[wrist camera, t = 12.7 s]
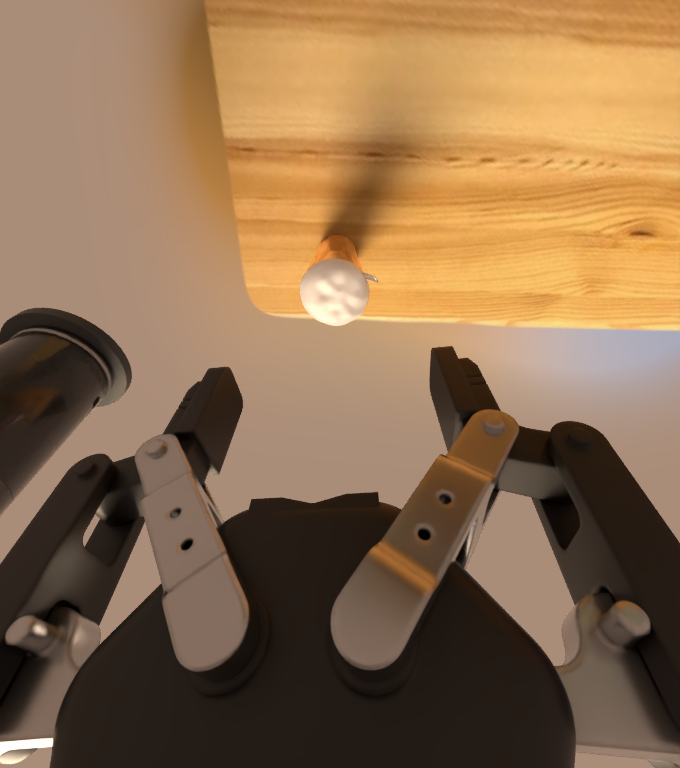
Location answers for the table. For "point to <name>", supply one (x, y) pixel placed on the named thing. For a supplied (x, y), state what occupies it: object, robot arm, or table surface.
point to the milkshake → (335, 283)
